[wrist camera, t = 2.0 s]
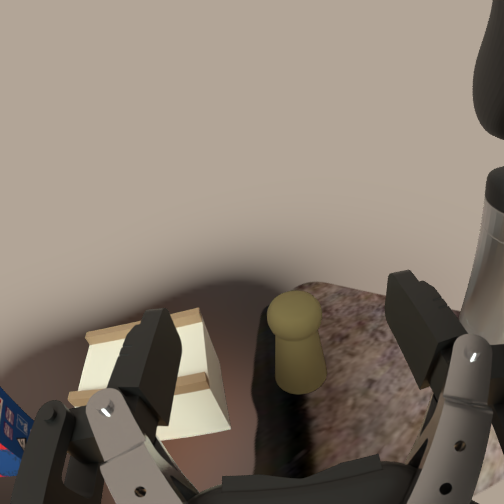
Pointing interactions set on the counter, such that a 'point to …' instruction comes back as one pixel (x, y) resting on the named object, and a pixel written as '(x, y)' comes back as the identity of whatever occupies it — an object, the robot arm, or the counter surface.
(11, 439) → the pasta box
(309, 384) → the olive green pawn
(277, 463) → the counter surface
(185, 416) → the display stand
